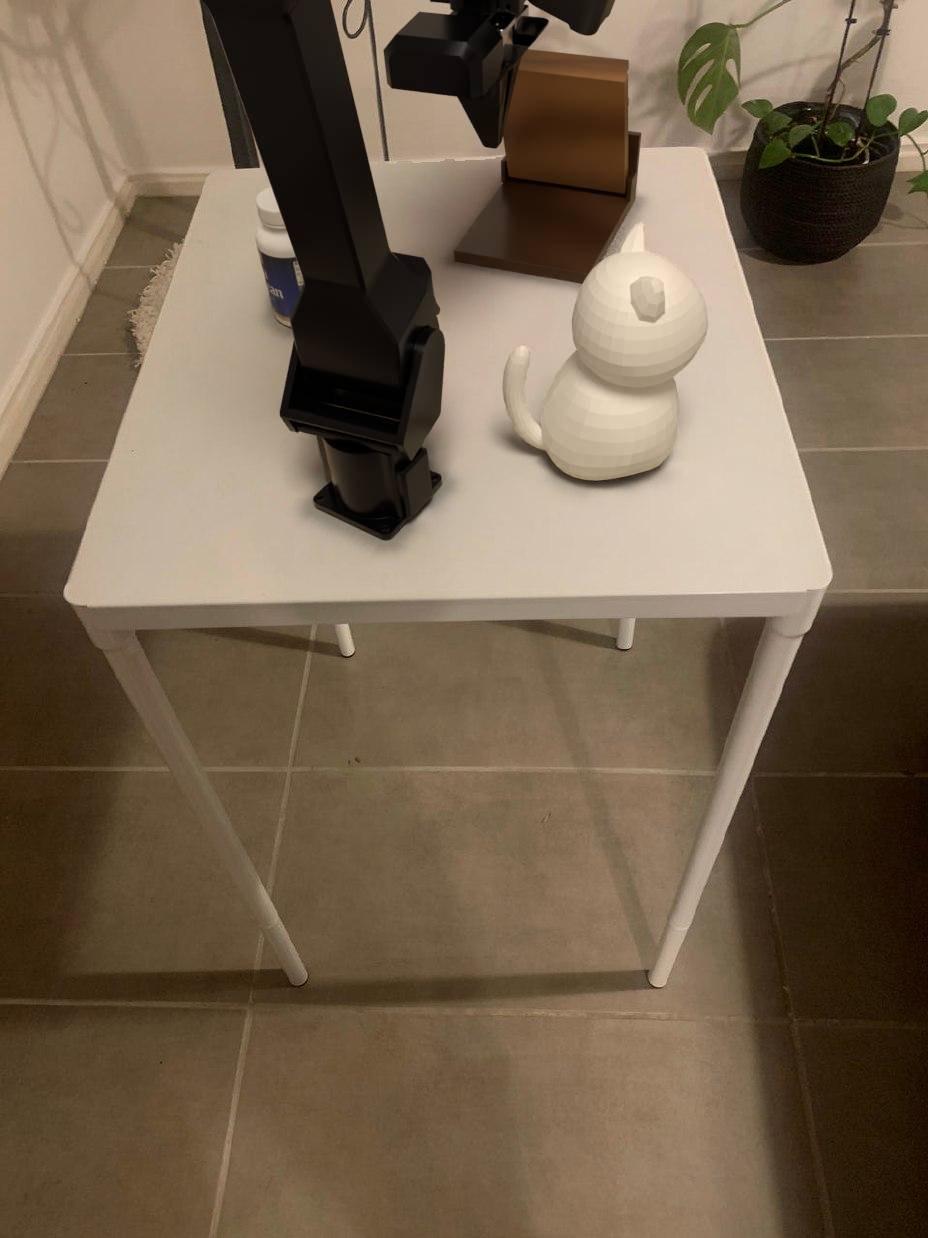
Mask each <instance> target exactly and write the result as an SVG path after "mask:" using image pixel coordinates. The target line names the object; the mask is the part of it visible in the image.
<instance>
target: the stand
mask: <svg viewBox="0 0 928 1238" xmlns="http://www.w3.org/2000/svg"><path fill="white" fill-rule="evenodd" d="M641 143H642V132H640V131H634V130H631V131H630V130H628V185H627V190H626V193H625V194H622V193H616V192H609V191H602V190H595V189H589V188H582V187H575V186H568V185H562V184H555V183H548V182H541V181H535V180H528V179H521V178H514V177H509V175H508V168H507V161H506V154H505V155H504V156H503V158H502V159H501V160H500V183H501V184H500V186H499V187H498V189H497V190H496V191H495V192H494V194H493V196H492V197H491V199H489V201H488V202H487V204H486V205H485V207H484V208H483V209H482V211H481V212H480V213H479V215H478V216H477V218H476V219H475V220H474V222H473V223H472V225H470V227H469V229H468V230H467V231H466V233H465V234H464V235H463V237H462V238H461V239H460V241H459V242H458V243H457V245H456V247H455V248H454V249H453V261H454V262H458V263H466V264H470V265H476V266H481V267H487V268H492V269H497V270H498V269H499V270H504V271H509V272H515V273H521V274H525V275H526V274H527V275H532V276H537V277H544V278H549V279H554V280H561V281H565V282H571V283H578V284H581V285H582V284H583V282H584V280H585V279H586V277H587V276H588V274H589V273H590V272H591V270H592V269H593V268H594V267H595V266H596V265H597V264H598V263H600V262H601V261H602V260H604V257H605V254H606V253H607V252H608V250H609V248H610V246H611V244H612V243H613V240H614V239H615V237H616V236H617V233H618V231H619V230H620V228H621V226H622V224H623V223H624V221H625V219H626V217H627V215H628V214H629V212H630V210H631V209H632V207H633V205H634V203H635V201H636V198H637V197H636V195H637V186H638V175H639V164H640V152H641Z"/></svg>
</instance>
